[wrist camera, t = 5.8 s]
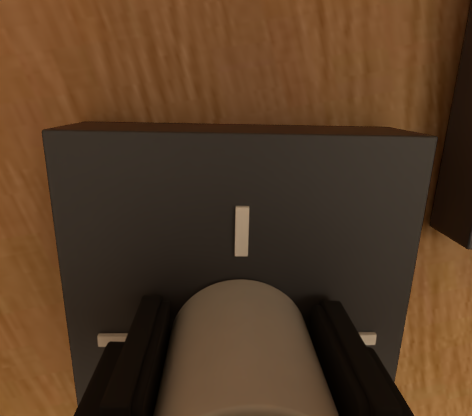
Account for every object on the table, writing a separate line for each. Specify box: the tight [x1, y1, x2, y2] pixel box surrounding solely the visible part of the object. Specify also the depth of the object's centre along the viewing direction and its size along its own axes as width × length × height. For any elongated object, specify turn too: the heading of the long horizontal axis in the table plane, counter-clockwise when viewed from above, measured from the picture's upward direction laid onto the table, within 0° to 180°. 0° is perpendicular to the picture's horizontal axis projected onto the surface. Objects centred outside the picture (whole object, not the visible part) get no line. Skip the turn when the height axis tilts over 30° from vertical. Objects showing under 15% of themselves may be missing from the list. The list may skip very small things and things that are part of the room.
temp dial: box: [153, 279, 339, 416], centre depth 9 cm, size 4×4×5 cm
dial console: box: [42, 122, 438, 405], centre depth 12 cm, size 12×10×3 cm
